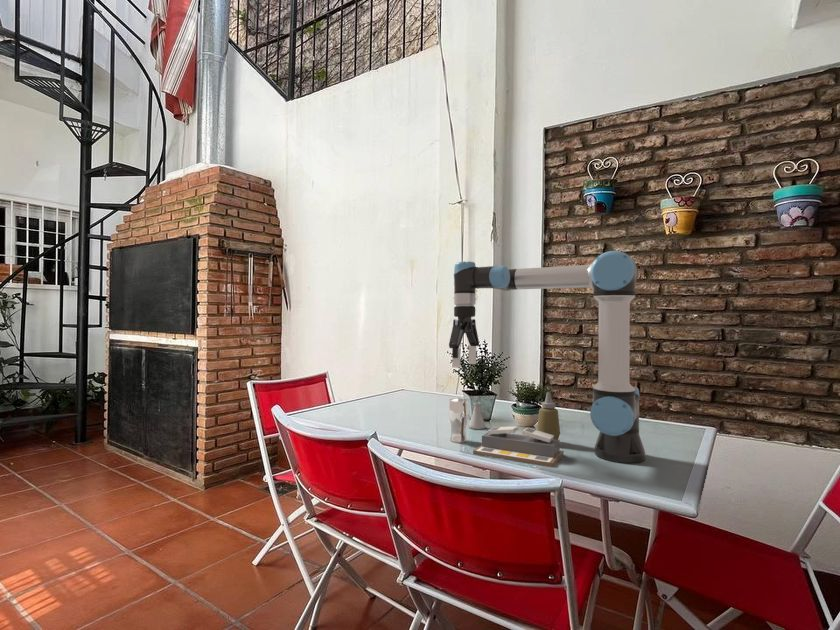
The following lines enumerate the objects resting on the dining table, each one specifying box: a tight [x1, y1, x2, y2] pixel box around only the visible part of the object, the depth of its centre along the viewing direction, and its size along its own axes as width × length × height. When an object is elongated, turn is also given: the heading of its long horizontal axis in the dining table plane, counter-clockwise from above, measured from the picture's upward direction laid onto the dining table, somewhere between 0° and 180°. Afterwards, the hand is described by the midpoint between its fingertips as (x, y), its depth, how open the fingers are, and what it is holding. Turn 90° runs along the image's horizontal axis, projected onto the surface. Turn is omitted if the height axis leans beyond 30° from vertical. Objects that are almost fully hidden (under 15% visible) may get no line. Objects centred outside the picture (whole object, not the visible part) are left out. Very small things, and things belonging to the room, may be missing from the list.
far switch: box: [487, 425, 519, 434], centre depth 156 cm, size 9×5×1 cm, turn 60°
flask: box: [468, 402, 487, 430], centre depth 187 cm, size 7×7×10 cm
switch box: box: [472, 432, 565, 468], centre depth 151 cm, size 26×14×6 cm, turn 60°
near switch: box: [521, 427, 554, 443], centre depth 150 cm, size 9×5×1 cm, turn 60°
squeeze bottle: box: [536, 392, 561, 440], centre depth 165 cm, size 8×8×18 cm
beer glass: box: [448, 397, 469, 444], centre depth 167 cm, size 7×7×15 cm
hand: (464, 365), depth 162 cm, fingers open, 13 cm apart
